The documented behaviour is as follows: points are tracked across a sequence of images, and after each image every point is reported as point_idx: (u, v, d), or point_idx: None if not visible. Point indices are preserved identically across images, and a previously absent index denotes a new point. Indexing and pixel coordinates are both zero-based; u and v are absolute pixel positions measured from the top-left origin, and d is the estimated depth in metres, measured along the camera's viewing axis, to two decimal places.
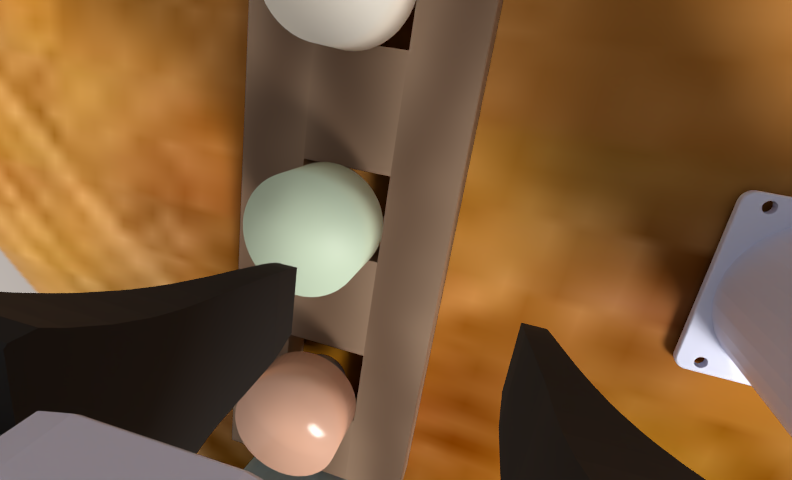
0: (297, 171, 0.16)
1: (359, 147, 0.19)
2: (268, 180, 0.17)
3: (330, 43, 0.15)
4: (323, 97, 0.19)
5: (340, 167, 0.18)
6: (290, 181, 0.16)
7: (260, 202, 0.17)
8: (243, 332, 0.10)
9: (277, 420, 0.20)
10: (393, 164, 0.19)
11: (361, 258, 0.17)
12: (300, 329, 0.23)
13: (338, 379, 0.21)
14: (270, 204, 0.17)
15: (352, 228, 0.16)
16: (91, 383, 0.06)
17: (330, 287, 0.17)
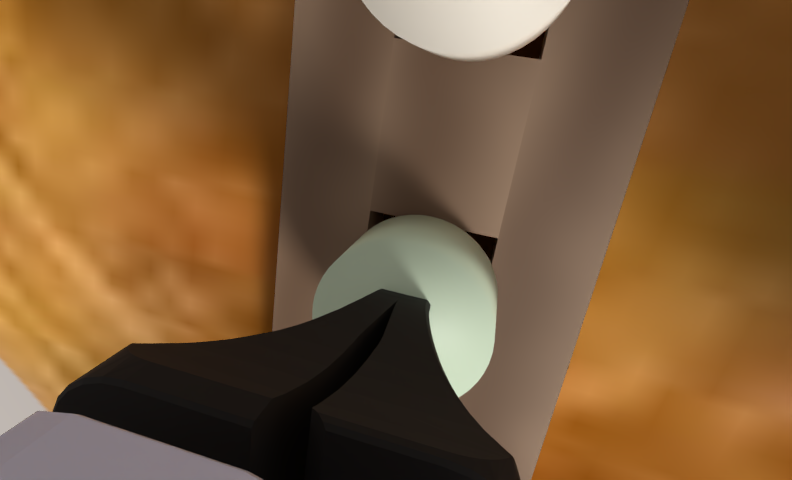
0: (399, 239, 0.11)
1: (454, 198, 0.14)
2: (354, 251, 0.11)
3: (464, 52, 0.09)
4: (403, 126, 0.13)
5: (444, 224, 0.13)
6: (388, 254, 0.11)
7: (340, 280, 0.12)
8: None
9: None
10: (504, 222, 0.13)
11: (488, 361, 0.12)
12: None
13: None
14: (355, 283, 0.12)
15: (479, 320, 0.11)
16: (289, 446, 0.06)
17: None
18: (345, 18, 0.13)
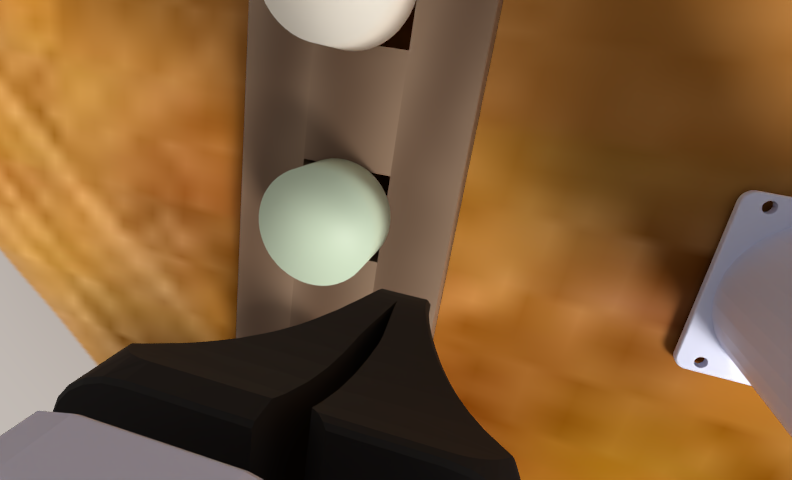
0: (311, 166, 0.17)
1: (359, 147, 0.19)
2: (283, 175, 0.18)
3: (330, 43, 0.15)
4: (323, 97, 0.19)
5: (350, 163, 0.19)
6: (304, 176, 0.17)
7: (275, 196, 0.18)
8: None
9: None
10: (393, 164, 0.19)
11: (371, 248, 0.18)
12: None
13: None
14: (285, 197, 0.18)
15: (362, 220, 0.17)
16: (289, 446, 0.06)
17: (341, 276, 0.18)
18: None
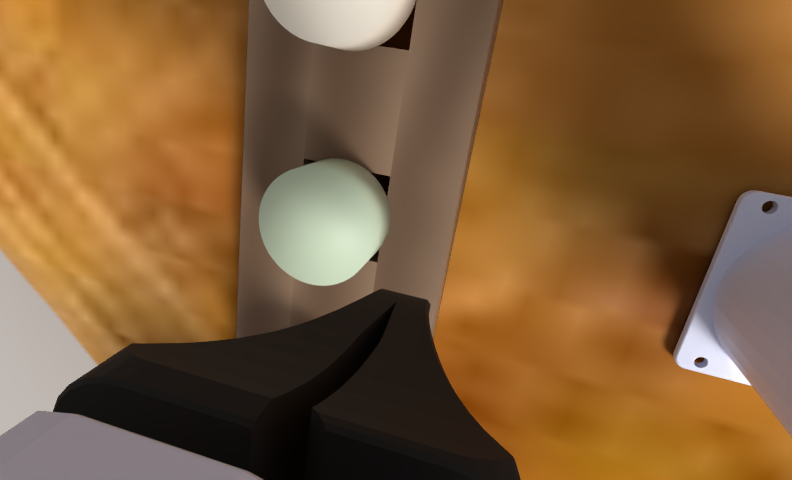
0: (311, 166, 0.17)
1: (360, 147, 0.19)
2: (283, 175, 0.18)
3: (330, 43, 0.15)
4: (323, 97, 0.19)
5: (350, 163, 0.19)
6: (304, 176, 0.17)
7: (275, 196, 0.18)
8: None
9: None
10: (393, 164, 0.19)
11: (371, 248, 0.18)
12: None
13: None
14: (285, 197, 0.18)
15: (362, 220, 0.17)
16: (289, 446, 0.06)
17: (341, 276, 0.18)
18: None
